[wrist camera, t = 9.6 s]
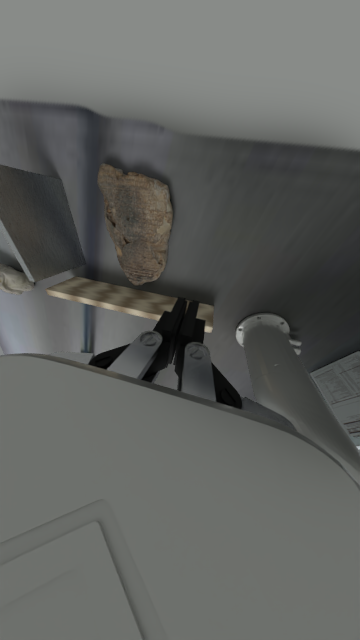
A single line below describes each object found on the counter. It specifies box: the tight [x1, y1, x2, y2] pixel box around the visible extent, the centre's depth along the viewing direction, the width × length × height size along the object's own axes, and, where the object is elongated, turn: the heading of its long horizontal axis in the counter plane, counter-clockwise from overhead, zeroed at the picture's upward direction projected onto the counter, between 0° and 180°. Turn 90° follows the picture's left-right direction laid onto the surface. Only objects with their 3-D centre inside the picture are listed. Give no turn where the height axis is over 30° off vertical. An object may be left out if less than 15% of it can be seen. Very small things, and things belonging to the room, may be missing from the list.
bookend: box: [0, 165, 86, 282], centre depth 27 cm, size 7×16×13 cm, turn 174°
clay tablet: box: [98, 163, 173, 286], centre depth 28 cm, size 14×5×20 cm
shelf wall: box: [45, 277, 214, 333], centre depth 35 cm, size 40×2×9 cm, turn 84°
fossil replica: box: [0, 263, 34, 295], centre depth 41 cm, size 12×8×10 cm
